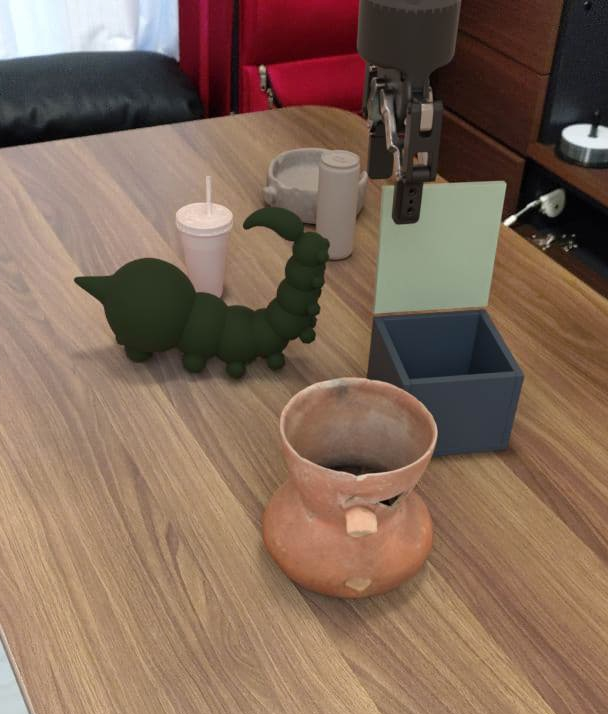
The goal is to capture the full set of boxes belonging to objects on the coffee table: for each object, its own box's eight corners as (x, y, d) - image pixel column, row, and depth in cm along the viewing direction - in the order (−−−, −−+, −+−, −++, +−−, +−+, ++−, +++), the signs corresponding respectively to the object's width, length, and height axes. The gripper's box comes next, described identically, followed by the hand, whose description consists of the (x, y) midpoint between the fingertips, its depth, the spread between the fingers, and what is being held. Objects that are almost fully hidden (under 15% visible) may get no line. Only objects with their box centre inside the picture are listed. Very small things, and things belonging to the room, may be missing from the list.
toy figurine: (310, 356, 109) (85, 324, 107) (336, 194, 95) (80, 156, 94) (306, 406, 102) (66, 374, 100) (334, 240, 89) (58, 199, 87)
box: (507, 449, 96) (525, 375, 89) (392, 460, 94) (403, 384, 88) (471, 381, 104) (485, 308, 97) (365, 389, 102) (373, 316, 96)
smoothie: (231, 308, 112) (230, 191, 102) (176, 306, 112) (169, 188, 102) (235, 280, 117) (234, 165, 107) (181, 277, 116) (176, 162, 107)
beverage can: (340, 265, 120) (347, 170, 112) (307, 254, 122) (312, 159, 114) (359, 250, 123) (368, 156, 115) (327, 239, 125) (333, 146, 116)
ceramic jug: (439, 629, 79) (468, 498, 69) (260, 626, 78) (262, 494, 68) (417, 482, 91) (438, 354, 82) (262, 479, 91) (265, 349, 81)
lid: (506, 183, 89) (503, 180, 90) (384, 188, 87) (382, 185, 88) (487, 306, 97) (484, 303, 97) (374, 313, 95) (372, 310, 96)
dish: (303, 173, 139) (305, 138, 135) (385, 202, 133) (389, 166, 130) (240, 208, 130) (240, 171, 127) (325, 240, 125) (327, 203, 121)
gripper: (491, 18, 67) (458, 236, 79) (432, -40, 77) (411, 161, 89) (386, 22, 66) (369, 242, 78) (340, -38, 76) (330, 166, 88)
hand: (391, 199), depth 83 cm, fingers open, 8 cm apart
